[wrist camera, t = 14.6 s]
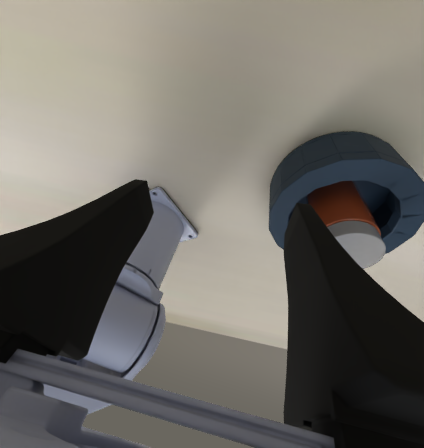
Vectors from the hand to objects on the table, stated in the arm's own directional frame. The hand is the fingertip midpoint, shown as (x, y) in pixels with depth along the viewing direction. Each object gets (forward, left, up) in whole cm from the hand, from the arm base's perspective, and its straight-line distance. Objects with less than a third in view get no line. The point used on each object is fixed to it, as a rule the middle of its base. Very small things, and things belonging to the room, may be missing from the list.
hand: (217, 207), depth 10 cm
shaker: (+5, -8, -9) cm, 13 cm away
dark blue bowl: (+5, -8, -10) cm, 14 cm away
